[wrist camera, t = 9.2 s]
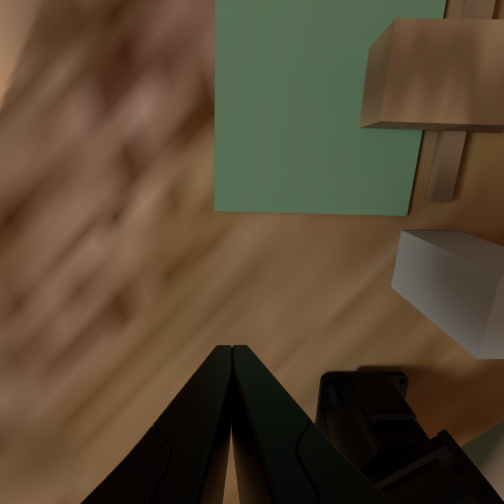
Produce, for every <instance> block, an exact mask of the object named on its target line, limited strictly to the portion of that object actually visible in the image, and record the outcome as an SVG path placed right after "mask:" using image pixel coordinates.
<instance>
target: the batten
mask: <svg viewBox="0 0 504 504" xmlns="http://www.w3.org/2000/svg"><path fill="white" fill-rule="evenodd" d="M495 1H496V0H465V2H464V7H463V12H462V17H461V19H492V15H493V10H494V6H495ZM466 133H467V132H464V131H439V134H438V139H437V144H436V149H435V154H434V159H433V164H432V170H431V175H430V180H429V185H428V190H427V195H426V200H429V201H433V202H450V203H451V201H452V196H453V192H454V187H455V183H456V178H457V174H458V169H459V164H460V160H461V155H462V151H463V146H464V142H465V137H466Z"/></svg>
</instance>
